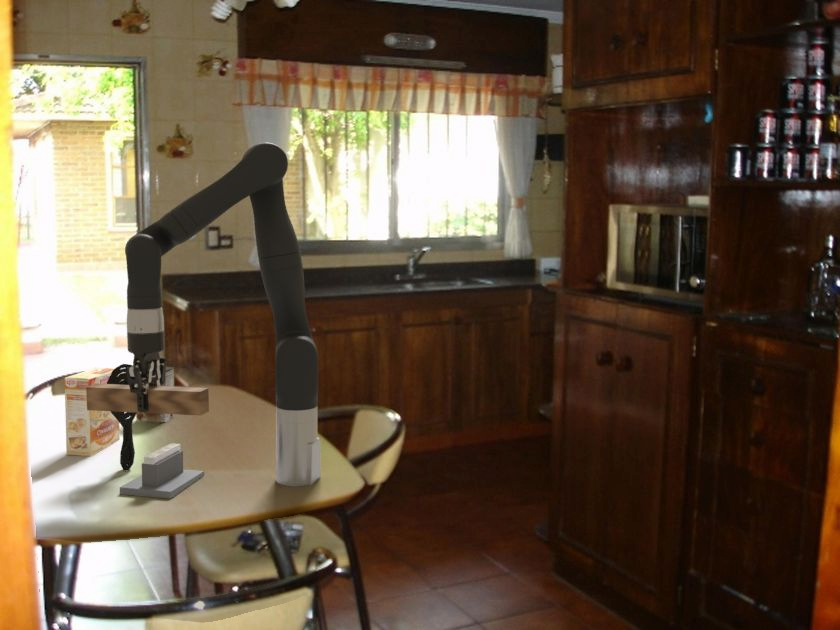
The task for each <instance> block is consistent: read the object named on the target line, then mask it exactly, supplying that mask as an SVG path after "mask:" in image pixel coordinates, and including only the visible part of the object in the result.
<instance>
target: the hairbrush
mask: <svg viewBox="0 0 840 630" xmlns="http://www.w3.org/2000/svg"><path fill="white" fill-rule="evenodd" d="M132 366H133V364H128V363H122V364H120V365H118V366H117V367H115V368H113V369H114V370H113V371H112V373H111V375H110V377H109V379H108V381H107V384H119V385H129V383H128V378H127V374H126V367H132ZM122 372H125V373H122ZM119 374H120V375H119ZM118 375H119V376H118ZM117 376H118V377H117ZM123 379H124V380H123ZM121 380H122V381H121ZM119 382H120V383H119ZM134 385H135V384H134ZM111 413H112V414H113V415H114V417H115V418H116V419H117V420H118V421H119V425H120V426H121V427H122V444H121V450H120V456H119V463H120V464H119V465H120V466H121V469H122V470H123V471H126V470H128V471H129V470H130V469H131V468H132V466H133V464H134V461H135V454H136V452H135V445H134V438H133V437H134V436H133V422H134V419H135V420H136V414H138V413H136V412H115V411H111Z"/></svg>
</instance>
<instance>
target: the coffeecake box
mask: <svg viewBox="0 0 840 630" xmlns="http://www.w3.org/2000/svg"><path fill="white" fill-rule="evenodd" d="M114 369H115V368H112V367H111V368H108V367H106V368H105V367H93V368H90V369H88V370H85V371H82V372H78V373H75V374H72V375H69V376H65V377H64V400H65V401H64V404H65V405H64V407H65V441H66V443H65V444H66V445H65V447H66V449H65V451H66V455H67V456H68V455H69V456H82V457H93V456H94V455H96V454H98V453H99V452H101V451H103V450H105V449H106V448H108V447H110V446H112V445H114V444H115V443H117V442H119V441H120V438H121V437H120V423H119V421H118V420H117V419H116V418H115V417H114V415H113V414H112V413H111V411H93V410H87V395H86V387H88V386H91V385H94V384H107V381H108V379H109V377H110V375H111V373H112V371H113V370H114ZM117 377H118V376H117Z"/></svg>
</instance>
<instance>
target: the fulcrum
mask: <svg viewBox="0 0 840 630" xmlns="http://www.w3.org/2000/svg"><path fill="white" fill-rule="evenodd" d="M202 476H203V477H204V476H205V471H204V470H197V469H196V470H194V469H185V468H184V450H181V443H172V442H171V443H167V445H165V446H162V447H161V448H159V449H157V450H154V451H153V452H151V453H149V454H147V455H145V456H144V457H143V462H142V463H141V475H139V476H138V477H136V478H134V479H132V480H130V481H128V482H127V483H125V484H123V485H121V486H119V495H124V496H125V495H128V496H130V495H131V496H138V497H139V496H140V497H148V498H149V497H151V498H160V499H173V498H174V497H176V496H177V495H179V494H180V493H182V492H183V491H184V490H186V489H188V488H189V487H190V486H191V485H193V484H195V483H196V482H197V481H199V480H200V479H201V478H203V477H202ZM199 478H200V479H199ZM195 481H196V482H195ZM192 483H193V484H192ZM188 486H189V487H188ZM185 488H186V489H185ZM181 491H182V492H181ZM178 493H179V494H178ZM176 494H177V495H176ZM175 495H176V496H175ZM172 497H173V498H172Z"/></svg>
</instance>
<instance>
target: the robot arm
mask: <svg viewBox="0 0 840 630" xmlns="http://www.w3.org/2000/svg"><path fill="white" fill-rule="evenodd" d="M288 160H289V159H288V156H287V154H286V152H285V151H284V150H283V148H281V147H280V146H279V145H277V144H275V143H271V142H267V141H266V142H259V143H256V144H254V145H252V146H251V147H249V148H248V149H247V150H246V151H245V152H244V154H243V155H242V159H240V161H239V162H238V163H237V164H236V165H235V166H234V167H232V169H230V170H229V171H228V172H227V173H224V175H223V176H221V177H219V179H217V180H216V181H214V182H213V183H211V184H210V185H208V186H206V187H205V188H203V189H201V190H199V191H197V192H196V193H194V194H192V195H191V196H189V197H188V198H187V199H185V200H183V201H182V202H180V203H179V204H178V205H176V206H175V207H173V208H172V209H171V210H169V211H168V212H166V213H165V214H164V215H162V217H161V218H160V219H158V220H157V221H155V222H153V223H152V224H150V225H148V226H147V227H145V228H143V229H142V230H141V231H139V232H137V233H135V234H134V235H133V236H131V237H130V238H129V239H128V240H127V241H126V244H125V248H124V252H125V253H124V254H125V258H126V259H125V260H126V272H127V285H126V286H127V287H126V288H127V289H126V306H127V311H126V312H127V313H126V335H127V336H126V341H127V351H128V352H129V354H130V353H131V354H133V361H132V367H126V374H127V378H128V383H129V387H130V392H131V393H135V394H137V410H138V411H139V412H147V411H148V387H149V386H160V385H163V384H164V379H165V371H166V367H167V362H168V360H167V357H161V356H160V353H161V352H164V351H165V347H166V345H165V317H164V312H163V295H162V292H163V291H162V285H161V277H162V276H161V275H162V257H163V256H164V255H166V254H167V253H168V252H170V251H172V250H173V248H175V247H177V246H179V245H182V244H184V243H186V242H187V241H189V240H190V239H191V238H193V237H194V236H195V235H197V234H198V233H200V232H201V231H203V230H204V229H205V228H207V227H208V226H209V225H211V224H212V223H213V222H215V221H216V220H217V219H218V218H219V217H221V216H222V215H224V213H226V212H227V211H228V210H230V209H232V208H233V207H234V206H235V205H237V204H238V203H240V202H241V201H243V200H245V199H246V198H248V197H249V199H250V203H251V207H252V214H253V227H254V234H255V235H254V236H255V243H256V251H257V258H258V263H259V270H260V274H261V275H260V276H261V280H262V283H263V286H264V290H265V293H266V296H267V299H268V303H269V305H270V309H271V312H272V315H273V316H272V317H273V323H274V324H273V325H274V333H275V335H274V336H275V481H276V483H277V484H278V485H281V486H284V487H285V486H286V487H302V486H303V487H304V486H313V484H315V483H316V481H318V480H319V479H320V478H321V438H320V437H318V404H319V403H318V397H319V352H318V349H317V346H316V343H315V341H314V338H313V335H312V331H311V327H310V325H309V324H310V323H309V320H308V315H307V311H306V302H305V301H306V300H305V299H306V298H305V297H306V296H305V293H306V292H305V276H304V267H303V259H302V254H301V248H300V244H299V240H298V237H297V233H296V231H295V229H294V225H293V223H292V220H291V218H290V215H289V213H288V209H287V205H286V200H285V191H284V180H283V179H284V177H285V176H286V173H287V171H288V168H289V161H288ZM141 378H144V379H141ZM143 383H144V388H143ZM134 384H135V386H134Z"/></svg>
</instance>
